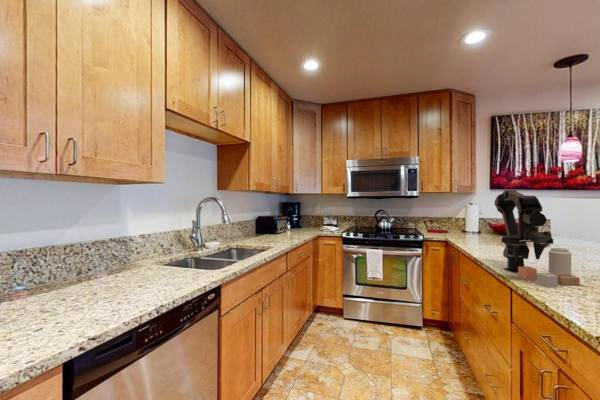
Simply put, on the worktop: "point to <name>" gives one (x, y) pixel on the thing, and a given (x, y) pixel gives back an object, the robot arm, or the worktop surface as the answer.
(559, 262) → the can
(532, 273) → the terracotta cube
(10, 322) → the worktop surface
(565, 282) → the walnut base
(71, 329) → the worktop surface
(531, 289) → the worktop surface
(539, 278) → the slate cube
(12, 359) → the worktop surface
